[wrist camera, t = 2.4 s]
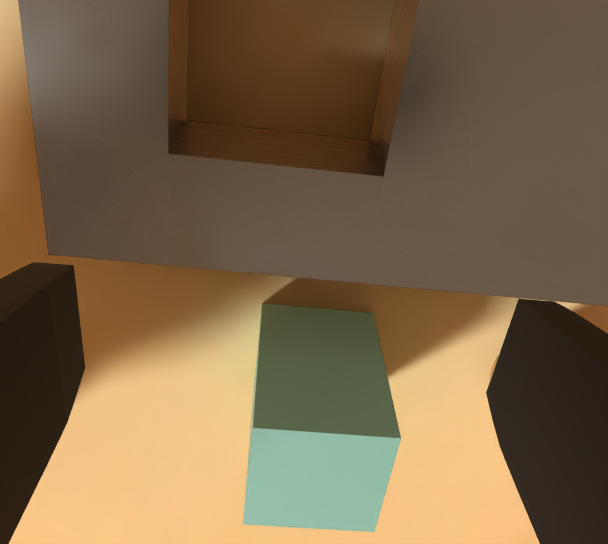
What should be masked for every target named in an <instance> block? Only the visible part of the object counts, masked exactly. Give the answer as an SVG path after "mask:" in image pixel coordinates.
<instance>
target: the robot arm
mask: <svg viewBox="0 0 608 544" xmlns="http://www.w3.org/2000/svg"><path fill="white" fill-rule="evenodd" d="M84 369H85V363H84V354H83V345H82V336H81V327H80V318H79V309H78V300H77V291H76V282H75V274H74V265H61V264H47V263H31V264H29V265H27V266H25V267H23V268H21V269H19V270H17V271H15V272H13V273H11V274H9V275H7V276H5V277H3V278H2V279H0V544H9V542H10V539H11V537H12V535H13V533H14V531H15V529H16V527H17V525H18V523H19V521H20V519H21V517H22V515H23V513H24V511H25V509H26V507H27V505H28V503H29V501H30V499H31V497H32V495H33V493H34V490H35V488H36V486H37V484H38V482H39V480H40V478H41V476H42V474H43V472H44V470H45V468H46V466H47V464H48V462H49V460H50V458H51V456H52V453H53V451H54V449H55V447H56V445H57V443H58V441H59V439H60V437H61V435H62V433H63V430H64V428H65V426H66V424H67V422H68V419H69V416H70V413H71V410H72V407H73V404H74V401H75V398H76V395H77V392H78V389H79V385H80V382H81V379H82V376H83V373H84ZM486 394H487V398H488V402H489V406H490V411H491V415H492V419H493V423H494V427H495V430H496V434H497V437H498V441H499V445H500V448H501V450H502V453H503V455H504V458H505V461H506V463H507V466H508V468H509V470H510V473H511V475H512V478H513V480H514V483H515V485H516V488H517V490H518V492H519V495H520V497H521V500H522V502H523V504H524V507H525V509H526V511H527V514H528V516H529V519H530V521H531V523H532V526H533V528H534V531H535V533H536V535H537V538H538V540H539V542H540V544H608V334H607V333H605V332H604V331H602V330H601V329H599V328H598V327H596V326H595V325H593V324H592V323H590V322H588V321H587V320H585V319H584V318H582V317H581V316H579V315H577V314H576V313H574V312H572V311H571V310H569V309H567V308H565V307H564V306H562V305H560V304H558V303H556V302H552V301H539V300H526V299H518V302H517V305H516V308H515V311H514V314H513V317H512V320H511V323H510V325H509V328H508V331H507V334H506V337H505V340H504V343H503V346H502V349H501V352H500V354H499V357H498V360H497V363H496V366H495V369H494V372H493V375H492V378H491V381H490V383H489V386H488V389H487V392H486Z"/></svg>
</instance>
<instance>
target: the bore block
mask: <svg viewBox="0 0 608 544" xmlns="http://www.w3.org/2000/svg"><path fill="white" fill-rule="evenodd" d="M18 2H19V11H20V19H21V27H22V36H23V44H24V53H25V61H26V70H27V78H28V86H29V95H30V103H31V112H32V120H33V129H34V137H35V145H36V154H37V162H38V171H39V179H40V188H41V196H42V204H43V213H44V221H45V230H46V238H47V247H48V255H58V256H69V257H80V258H91V259H102V260H113V261H124V262H134V263H145V264H156V265H167V266H178V267H189V268H200V269H211V270H222V271H232V272H243V273H254V274H265V275H276V276H287V277H298V278H309V279H319V280H330V281H341V282H352V283H363V284H374V285H385V286H396V287H407V288H417V289H428V290H439V291H450V292H461V293H472V294H483V295H494V296H504V297H515V298H526V299H537V300H548V301H559V302H570V303H581V304H591V305H602V306H608V0H395V4H394V10H393V15H392V21H391V26H390V32H389V37H388V43H387V49H386V54H385V60H384V65H383V71H382V76H381V82H380V87H379V93H378V98H377V104H376V109H375V115H374V120H373V126H372V131H371V137H370V141H368V140H359V139H350V138H341V137H332V136H323V135H314V134H305V133H296V132H287V131H278V130H269V129H260V128H251V127H242V126H233V125H224V124H215V123H206V122H197V121H188V120H187V77H188V18H189V0H18Z"/></svg>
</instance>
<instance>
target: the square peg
mask: <svg viewBox="0 0 608 544" xmlns="http://www.w3.org/2000/svg"><path fill="white" fill-rule="evenodd" d="M400 440H401V436H400V432H399V427H398V423H397V418H396V414H395V409H394V405H393V400H392V396H391V391H390V387H389V382H388V377H387V373H386V368H385V364H384V359H383V355H382V350H381V346H380V341H379V337H378V332H377V328H376V323H375V318H374V314H373V313H369V312H358V311H346V310H335V309H323V308H312V307H301V306H289V305H278V304H266V303H262V311H261V321H260V331H259V341H258V351H257V361H256V372H255V382H254V393H253V405H252V418H251V430H250V443H249V456H248V468H247V481H246V494H245V506H244V519H243V524H244V525H262V526H279V527H297V528H314V529H332V530H349V531H367V532H374V531H375V528H376V524H377V521H378V517H379V514H380V510H381V507H382V503H383V500H384V496H385V493H386V489H387V486H388V482H389V479H390V475H391V472H392V468H393V465H394V461H395V458H396V454H397V450H398V447H399V443H400Z"/></svg>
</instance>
